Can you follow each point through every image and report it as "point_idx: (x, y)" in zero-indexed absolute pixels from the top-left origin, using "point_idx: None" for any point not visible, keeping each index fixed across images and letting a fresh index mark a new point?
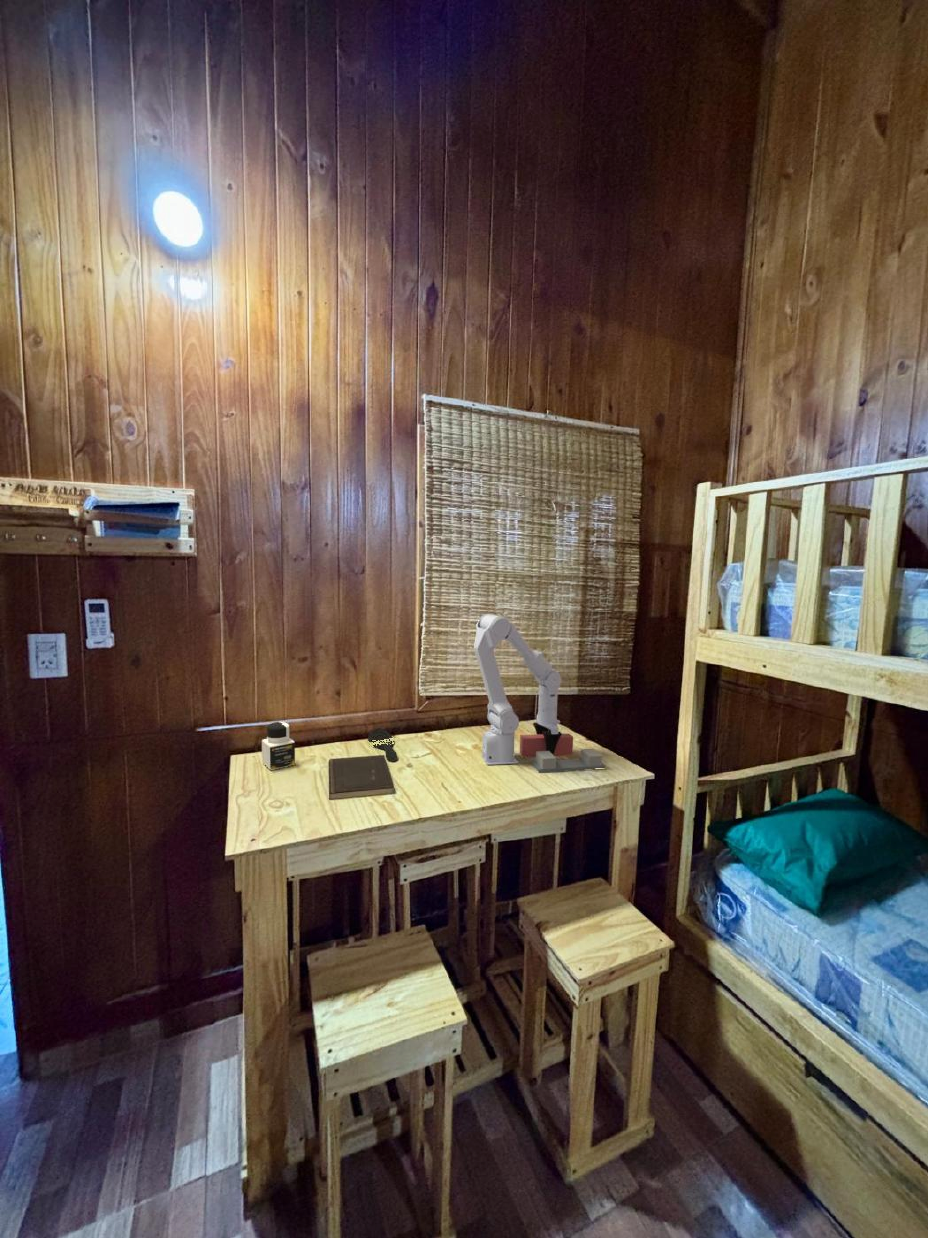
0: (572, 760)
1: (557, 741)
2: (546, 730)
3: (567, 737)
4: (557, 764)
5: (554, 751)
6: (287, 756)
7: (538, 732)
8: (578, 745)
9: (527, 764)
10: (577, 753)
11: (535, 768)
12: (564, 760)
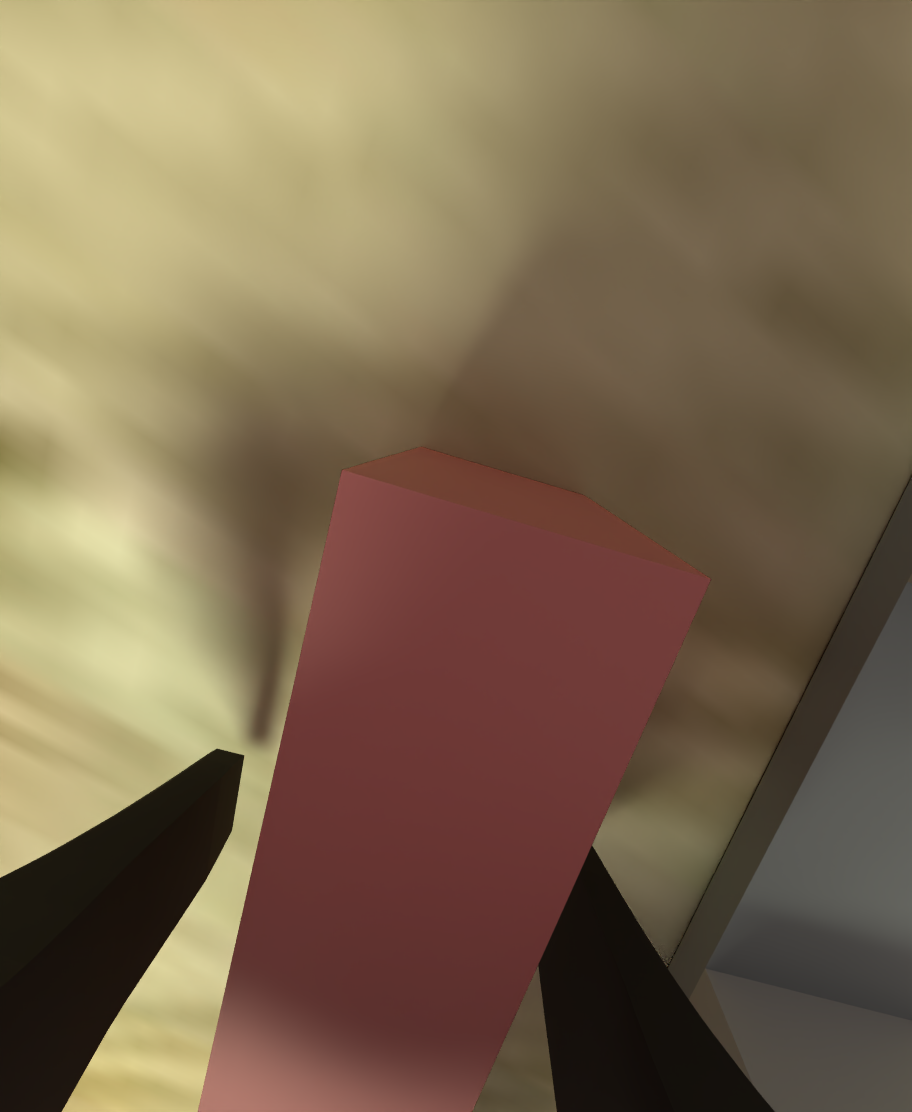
0: (880, 725)
1: (757, 1100)
2: (28, 1008)
3: (634, 741)
4: (864, 954)
5: (609, 875)
6: None
7: (58, 1095)
8: (227, 74)
9: None
10: (556, 368)
11: None
12: (813, 815)
